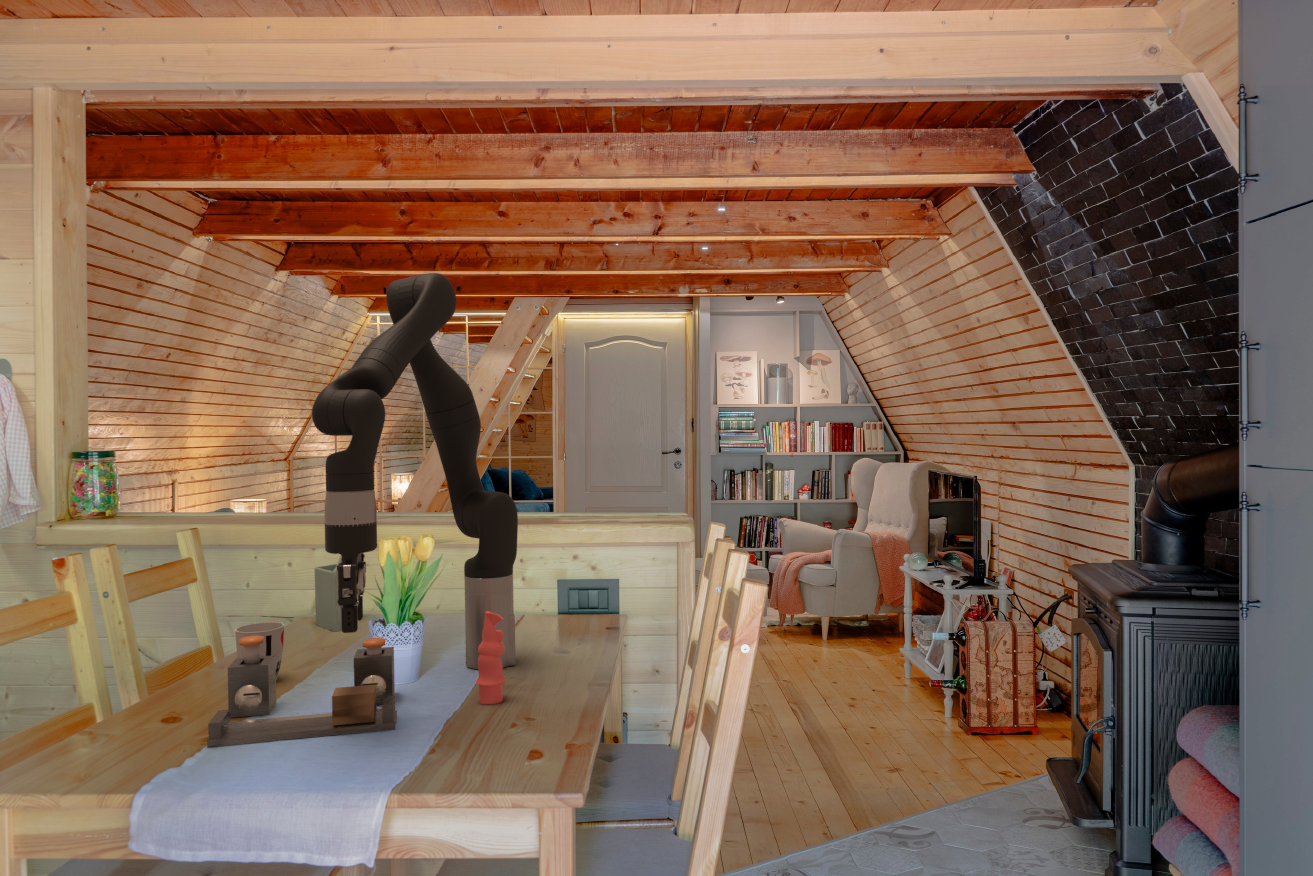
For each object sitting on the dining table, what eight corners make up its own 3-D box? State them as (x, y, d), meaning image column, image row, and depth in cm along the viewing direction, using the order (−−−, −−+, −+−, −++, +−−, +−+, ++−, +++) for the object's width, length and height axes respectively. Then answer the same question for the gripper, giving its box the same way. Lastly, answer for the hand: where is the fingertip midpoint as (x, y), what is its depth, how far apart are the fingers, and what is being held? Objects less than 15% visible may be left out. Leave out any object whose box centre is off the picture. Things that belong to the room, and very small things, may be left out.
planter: (328, 617, 212) (326, 536, 212) (361, 616, 212) (359, 535, 212) (302, 633, 196) (300, 545, 196) (337, 632, 196) (335, 544, 196)
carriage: (376, 712, 136) (376, 684, 136) (374, 721, 132) (373, 692, 132) (335, 716, 135) (335, 687, 134) (332, 725, 130) (331, 696, 130)
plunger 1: (266, 660, 144) (265, 635, 144) (261, 666, 140) (261, 640, 140) (242, 662, 143) (241, 636, 143) (237, 667, 139) (237, 641, 139)
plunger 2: (386, 661, 148) (385, 637, 148) (385, 667, 145) (384, 642, 145) (364, 663, 148) (363, 638, 147) (362, 669, 144) (361, 643, 144)
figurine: (512, 697, 147) (511, 608, 146) (497, 706, 142) (496, 615, 142) (486, 694, 148) (484, 606, 148) (470, 703, 143) (468, 613, 143)
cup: (266, 689, 153) (265, 633, 153) (226, 687, 155) (224, 631, 154) (294, 676, 161) (293, 622, 161) (255, 674, 163) (254, 621, 162)
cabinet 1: (276, 703, 145) (275, 655, 145) (268, 715, 139) (267, 665, 139) (237, 706, 144) (236, 658, 144) (228, 718, 138) (226, 668, 138)
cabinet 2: (394, 693, 150) (393, 646, 150) (392, 704, 144) (391, 656, 144) (358, 696, 148) (357, 649, 148) (354, 707, 142) (353, 659, 142)
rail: (396, 716, 138) (396, 695, 137) (394, 729, 132) (394, 707, 132) (217, 733, 131) (217, 710, 131) (207, 747, 125) (206, 723, 125)
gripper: (373, 524, 127) (374, 635, 127) (379, 514, 141) (381, 614, 141) (318, 526, 125) (320, 638, 125) (330, 516, 139) (332, 618, 139)
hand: (352, 626), depth 133 cm, fingers open, 8 cm apart
